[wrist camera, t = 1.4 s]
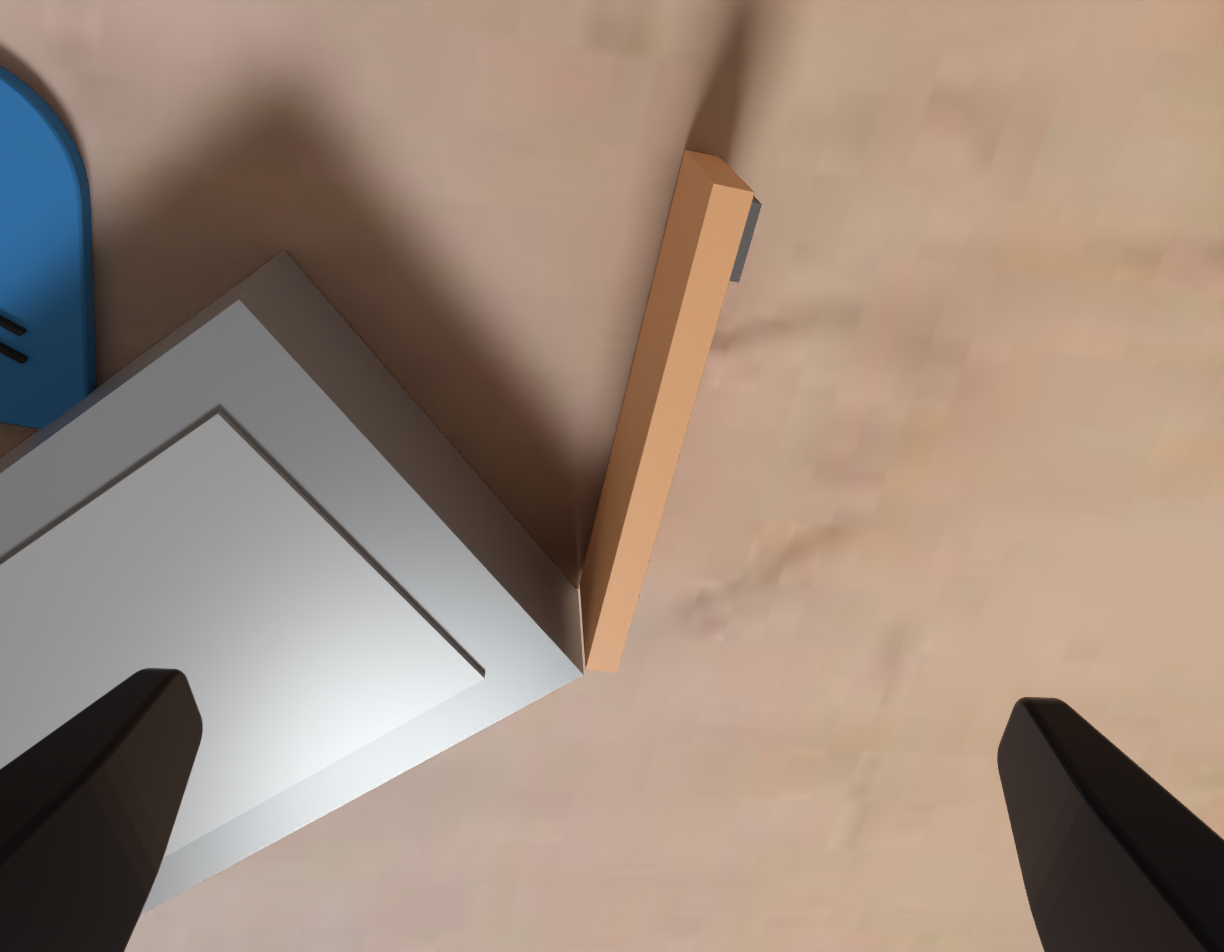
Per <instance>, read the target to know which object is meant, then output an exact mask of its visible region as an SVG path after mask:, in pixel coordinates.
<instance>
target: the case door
mask: <svg viewBox="0 0 1224 952" xmlns="http://www.w3.org/2000/svg"><path fill="white" fill-rule="evenodd" d="M761 205H762V204H761V203H760V202H759V201H758V200H757V199H756V198H755V197H754V191H753V190H752V189H751V188H750V187H749V186H748V185H747V184H746V183H745V182H744V181H743V180H742V179H741V178H740V177H739V176H738V175H737V174H736V173H735V172H734V171H733V170H732V169H731V168H730V167H729V166H728V165H727V164H726V163H725V162H724V161H723V160H722V159H721V158H720V157H717V156H713V155H708V154H703V153H699V152H694V151H690V150H685V152H684V156H683V160H682V164H681V168H680V172H679V176H678V180H677V184H676V189H675V193H674V197H673V201H672V205H671V209H670V213H669V217H668V221H667V226H666V230H665V234H664V238H663V242H662V246H661V250H660V254H659V258H658V263H657V267H656V271H655V275H654V279H653V283H652V287H651V291H650V295H649V300H648V304H647V308H646V312H645V316H644V320H643V324H642V328H641V332H640V337H639V341H638V345H637V349H636V353H635V357H634V361H633V365H632V369H631V374H630V378H629V382H628V386H627V390H626V394H625V398H624V402H623V406H622V411H621V415H620V419H619V423H618V427H617V431H616V435H615V439H614V443H613V448H612V452H611V456H610V460H609V464H608V468H607V472H606V476H605V480H604V485H603V489H602V493H601V497H600V501H599V505H598V509H597V513H596V517H595V521H594V526H593V530H592V534H591V538H590V542H589V546H588V550H587V554H586V558H585V563H584V567H583V571H582V575H581V579H580V595H581V609H582V623H583V637H584V651H585V666H586V669H587V670H596V671H605V672H614V673H617V671H618V667H619V664H620V660H621V657H622V653H623V650H624V646H625V643H626V639H627V636H628V632H629V629H630V625H631V622H632V618H633V615H634V611H635V608H636V604H637V601H638V597H639V594H640V590H641V587H642V583H643V580H644V576H645V573H646V569H647V566H648V562H649V559H650V556H651V552H652V549H653V545H654V542H655V538H656V535H657V531H658V528H659V524H660V521H661V517H662V514H663V510H664V507H665V503H666V500H667V496H668V493H669V489H670V486H671V482H672V479H673V475H674V472H675V468H676V465H677V461H678V458H679V454H680V451H681V447H682V444H683V440H684V437H685V433H686V430H687V426H688V423H689V419H690V416H691V412H692V409H693V405H694V402H695V398H696V395H697V391H698V388H699V384H700V381H701V377H702V374H703V370H704V367H705V364H706V360H707V357H708V353H709V350H710V346H711V343H712V339H713V336H714V332H715V329H716V325H717V322H718V318H719V315H720V311H721V308H722V304H723V301H724V297H725V294H726V290H727V287H728V283H729V281H734V282H739V280H740V277H741V273H742V270H743V267H744V263H745V260H746V256H747V253H748V249H749V246H750V243H751V239H752V236H753V232H754V229H755V225H756V222H757V219H758V215H759V212H760V208H761Z"/></svg>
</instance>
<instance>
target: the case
mask: <svg viewBox="0 0 1224 952" xmlns="http://www.w3.org/2000/svg"><path fill="white" fill-rule="evenodd" d="M145 668H167V669H178V670H181V671H182V672H183V673H184V674H185V675H186V677H187V679H188V682H189V685H190V687H191V690H192V693H193V695H194V698H195V701H196V704H197V706H198V709H199V712H200V714H201V717H202V723H203V733H202V739H201V743H200V746H199V749H198V752H197V755H196V759H195V762H194V765H193V768H192V771H191V774H190V777H189V780H188V783H187V786H186V790H185V793H184V796H183V799H182V802H181V805H180V808H179V811H178V814H177V818H176V821H175V824H174V827H173V830H172V833H171V836H170V839H169V842H168V846H167V849H166V852H165V855H164V857H163V860H162V863H161V866H160V869H159V872H158V874H157V877H156V879H155V882H154V884H153V886H152V889H151V891H150V894H149V896H148V898H147V901H146V903H145V905H144V907H143V910H142V912H141V914H143V913H145V912H147V911H149V910H150V909H152V908H154V907H156V906H158V905H160V904H162V903H163V902H165V901H167V900H169V899H171V898H173V897H174V896H176V895H178V894H180V893H182V892H184V891H185V890H187V889H189V888H191V887H193V886H195V885H197V884H198V883H200V882H202V881H204V880H206V879H208V878H209V877H211V876H213V875H215V874H217V873H219V872H221V871H222V870H224V869H226V868H228V867H230V866H232V865H233V864H235V863H237V862H239V861H241V860H243V859H245V858H246V857H248V856H250V855H252V854H254V853H256V852H257V851H259V850H261V849H263V848H265V847H267V846H269V845H270V844H272V843H274V842H276V841H278V840H280V839H281V838H283V837H285V836H287V835H289V834H291V833H292V832H294V831H296V830H298V829H300V828H302V827H304V826H305V825H307V824H309V823H311V822H313V821H315V820H316V819H318V818H320V817H322V816H324V815H326V814H328V813H329V812H331V811H333V810H335V809H337V808H339V807H340V806H342V805H344V804H346V803H348V802H350V801H352V800H353V799H355V798H357V797H359V796H361V795H363V794H364V793H366V792H368V791H370V790H372V789H374V788H376V787H377V786H379V785H381V784H383V783H385V782H387V781H388V780H390V779H392V778H394V777H396V776H398V775H399V774H401V773H403V772H405V771H407V770H409V769H411V768H412V767H414V766H416V765H418V764H420V763H422V762H423V761H425V760H427V759H429V758H431V757H433V756H435V755H436V754H438V753H440V752H442V751H444V750H446V749H447V748H449V747H451V746H453V745H455V744H457V743H459V742H460V741H462V740H464V739H466V738H468V737H470V736H471V735H473V734H475V733H477V732H479V731H481V730H483V729H484V728H486V727H488V726H490V725H492V724H494V723H495V722H497V721H499V720H501V719H503V718H505V717H506V716H508V715H510V714H512V713H514V712H516V711H518V710H519V709H521V708H523V707H525V706H527V705H529V704H530V703H532V702H534V701H536V700H538V699H540V698H542V697H543V696H545V695H547V694H549V693H551V692H553V691H554V690H556V689H558V688H560V687H562V686H564V685H566V684H567V683H569V682H571V681H573V680H575V679H577V678H578V677H580V676H582V675H583V660H582V645H581V630H580V615H579V600H578V591H577V589H576V588H575V587H574V586H573V585H572V584H571V582H570V581H569V580H568V579H567V578H566V577H565V575H564V574H563V573H562V572H561V571H560V570H559V568H558V567H557V566H556V565H555V564H554V563H553V561H552V560H551V559H550V558H549V557H548V556H547V554H546V553H545V552H544V551H543V550H542V549H541V548H540V546H539V545H538V544H537V543H536V542H535V541H534V539H533V538H532V537H531V536H530V535H529V534H528V532H527V531H526V530H525V529H524V528H523V527H522V525H521V524H520V523H519V522H518V521H517V520H516V518H515V517H514V516H513V515H512V514H511V513H510V511H509V510H508V509H507V508H506V507H505V506H504V505H503V503H502V502H501V501H500V500H499V499H498V498H497V496H496V495H495V494H494V493H493V492H492V491H491V489H490V488H489V487H488V486H487V485H486V484H485V482H484V481H483V480H482V479H481V478H480V477H479V475H478V474H477V473H476V472H475V471H474V470H473V468H472V467H471V466H470V465H469V464H468V463H467V462H466V460H465V459H464V458H463V457H462V456H461V455H460V453H459V452H458V451H457V450H456V449H455V448H454V446H453V445H452V444H451V443H450V442H449V441H448V439H447V438H446V437H445V436H444V435H443V434H442V432H441V431H440V430H439V429H438V428H437V427H436V425H435V424H434V423H433V422H432V421H431V420H430V418H429V417H428V416H427V415H426V414H425V413H424V412H423V410H422V409H421V408H420V407H419V406H418V405H417V403H416V402H415V401H414V400H413V399H412V398H411V396H410V395H409V394H408V393H407V392H406V391H405V389H404V388H403V387H402V386H401V385H400V384H399V382H398V381H397V380H396V379H395V378H394V377H393V375H392V374H391V373H390V372H389V371H388V370H387V369H386V367H385V366H384V365H383V364H382V363H381V362H380V360H379V359H378V358H377V357H376V356H375V355H374V353H373V352H372V351H371V350H370V349H369V348H368V346H367V345H366V344H365V343H364V342H363V341H362V339H361V338H360V337H359V336H358V335H357V334H356V332H355V331H354V330H353V329H352V328H351V327H350V326H349V324H348V323H347V322H346V321H345V320H344V319H343V317H342V316H341V315H340V314H339V313H338V312H337V310H336V309H335V308H334V307H333V306H332V305H331V303H330V302H329V301H328V300H327V299H326V298H325V296H324V295H323V294H322V293H321V292H320V291H319V289H318V288H317V287H316V286H315V285H314V284H313V283H312V281H311V280H310V279H309V278H308V277H307V276H306V274H305V273H304V272H303V271H302V270H301V269H300V267H299V266H298V265H297V264H296V263H295V262H294V260H293V259H292V258H291V257H290V256H289V255H288V253H287V252H286V251H285V250H283V251H282V252H281V253H279V254H278V255H277V256H275V257H274V258H272V259H271V260H270V261H268V262H267V263H266V264H264V265H263V266H262V267H260V268H259V269H257V270H256V271H255V272H253V273H252V274H251V275H249V276H248V277H247V278H245V279H244V280H242V281H241V282H240V283H238V284H237V285H236V286H234V287H233V288H232V289H230V290H229V291H227V292H226V293H225V294H223V295H222V296H221V297H219V298H218V299H217V300H215V301H214V302H213V303H211V304H210V305H208V306H207V307H206V308H204V309H203V310H202V311H200V312H199V313H198V314H196V315H195V316H193V317H192V318H191V319H189V320H188V321H187V322H185V323H184V324H183V325H181V326H180V327H178V328H177V329H176V330H174V331H173V332H172V333H170V334H169V335H168V336H166V337H165V338H163V339H162V340H161V341H159V342H158V343H157V344H155V345H154V346H153V347H151V348H150V349H149V350H147V351H146V352H144V353H143V354H142V355H140V356H139V357H138V358H136V359H135V360H134V361H132V362H131V363H129V364H128V365H127V366H125V367H124V368H123V369H121V370H120V371H119V372H117V373H116V374H114V375H113V376H112V377H110V378H109V379H108V380H106V381H105V382H104V383H102V384H101V385H100V386H98V387H97V388H95V389H94V390H93V391H92V392H91V393H90V394H89V395H88V396H87V397H85V398H84V399H83V400H81V401H80V402H79V403H77V404H76V405H75V406H73V407H72V408H70V409H69V410H68V411H66V412H65V413H64V414H62V415H61V416H60V417H58V418H57V419H55V420H54V421H53V422H51V423H50V424H49V425H47V426H46V427H45V428H43V429H42V430H41V429H40V430H38V431H37V432H36V433H34V434H33V435H31V436H30V437H29V438H27V439H26V440H25V441H23V442H22V443H21V444H19V445H18V446H16V447H15V448H14V449H12V450H11V451H10V452H8V453H7V454H6V455H4V456H3V457H1V458H0V769H1V768H3V767H4V766H5V765H7V764H8V763H10V762H11V761H12V760H14V759H15V758H17V757H18V756H19V755H21V754H22V753H24V752H25V751H26V750H28V749H29V748H31V747H32V746H33V745H35V744H36V743H38V742H39V741H40V740H42V739H43V738H45V737H46V736H47V735H49V734H50V733H52V732H53V731H54V730H56V729H57V728H59V727H60V726H61V725H63V724H64V723H66V722H67V721H68V720H70V719H71V718H73V717H74V716H75V715H77V714H78V713H79V712H81V711H82V710H84V709H85V708H86V707H88V706H89V705H91V704H92V703H93V702H95V701H96V700H98V699H99V698H100V697H102V696H103V695H105V694H106V693H107V692H109V691H110V690H112V689H113V688H114V687H116V686H117V685H119V684H120V683H121V682H123V681H124V680H126V679H127V678H128V677H130V676H131V675H133V674H134V673H136V672H137V671H139V670H142V669H145ZM141 914H140V915H141Z"/></svg>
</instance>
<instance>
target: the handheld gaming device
mask: <svg viewBox="0 0 1224 952" xmlns="http://www.w3.org/2000/svg"><path fill="white" fill-rule="evenodd" d="M95 388H96V363H95V332H94V301H93V270H92V239H91V208H90V193H89V184H88V179H87V175H86V172H85V168H84V164H83V161H82V159H81V157H80V154H79V152H78V150H77V147H76V145H75V143H74V141H73V139H72V138H71V136H70V134H69V133H68V131H67V129H66V128H65V126H64V125H63V123H62V122H61V121H60V119H59V118H58V117H57V115H56V114H55V113H54V111H53V110H52V109H51V108H50V107H49V105H48V104H47V103H46V102H45V101H44V100H43V99H42V98H41V97H40V96H39V95H38V94H37V93H36V92H35V91H34V90H33V89H31V88H30V87H29V86H28V85H27V84H25V83H24V82H23V81H22V80H20V79H19V78H18V77H17V76H15V75H14V74H12V73H11V72H9V71H7V70H6V69H4V68H3V67H1V66H0V422H1V423H7V424H13V425H18V426H24V427H30V428H36V429H41V430H42V429H43V428H45V427H46V426H47V425H49V424H50V423H51V422H53V421H54V420H55V419H57V418H58V417H60V416H61V415H62V414H64V413H65V412H66V411H68V410H69V409H70V408H72V407H73V406H75V405H76V404H77V403H79V402H80V401H81V400H83V399H84V398H85V397H87V396H88V395H89V394H90V393H91V392H92V391H93V390H94V389H95Z"/></svg>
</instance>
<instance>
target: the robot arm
mask: <svg viewBox="0 0 1224 952" xmlns="http://www.w3.org/2000/svg"><path fill="white" fill-rule="evenodd" d="M202 733H203V723H202V717H201V714H200V712H199V709H198V706H197V704H196V701H195V698H194V695H193V693H192V690H191V687H190V685H189V682H188V679H187V677H186V675H185V674H184V673H183V672H182V671H181V670H178V669H167V668H145V669H142V670H139V671H137V672H136V673H134V674H133V675H131V676H130V677H128V678H127V679H126V680H124V681H123V682H121V683H120V684H119V685H117V686H116V687H114V688H113V689H112V690H110V691H109V692H107V693H106V694H105V695H103V696H102V697H100V698H99V699H98V700H96V701H95V702H93V703H92V704H91V705H89V706H88V707H86V708H85V709H84V710H82V711H81V712H79V713H78V714H77V715H75V716H74V717H73V718H71V719H70V720H68V721H67V722H66V723H64V724H63V725H61V726H60V727H59V728H57V729H56V730H54V731H53V732H52V733H50V734H49V735H47V736H46V737H45V738H43V739H42V740H40V741H39V742H38V743H36V744H35V745H33V746H32V747H31V748H29V749H28V750H26V751H25V752H24V753H22V754H21V755H19V756H18V757H17V758H15V759H14V760H12V761H11V762H10V763H8V764H7V765H5V766H4V767H3V768H1V769H0V952H124V950H125V948H126V946H127V944H128V941H129V939H130V937H131V935H132V932H133V930H134V928H135V926H136V923H137V921H138V919H139V916H140V914H141V912H142V910H143V907H144V905H145V903H146V901H147V898H148V896H149V894H150V891H151V889H152V886H153V884H154V882H155V879H156V877H157V874H158V872H159V869H160V866H161V863H162V860H163V857H164V855H165V852H166V849H167V846H168V842H169V839H170V836H171V833H172V830H173V827H174V824H175V821H176V818H177V814H178V811H179V808H180V805H181V802H182V799H183V796H184V793H185V790H186V786H187V783H188V780H189V777H190V774H191V771H192V768H193V765H194V762H195V759H196V755H197V752H198V749H199V746H200V743H201V739H202ZM997 762H998V770H999V774H1000V779H1001V783H1002V788H1003V792H1004V797H1005V801H1006V805H1007V810H1008V814H1009V819H1010V823H1011V828H1012V832H1013V836H1014V841H1015V845H1016V850H1017V854H1018V859H1019V863H1020V867H1021V872H1022V876H1023V881H1024V885H1025V889H1026V893H1027V897H1028V901H1029V905H1030V909H1031V912H1032V915H1033V918H1034V922H1035V925H1036V928H1037V931H1038V934H1039V937H1040V940H1041V943H1042V946H1043V949H1044V952H1224V839H1222V838H1221V837H1220V836H1219V835H1218V834H1217V833H1215V832H1214V831H1213V830H1212V829H1211V828H1210V827H1209V826H1207V825H1206V824H1205V823H1204V822H1203V821H1202V820H1200V819H1199V818H1198V817H1197V816H1196V815H1195V814H1194V813H1192V812H1191V811H1190V810H1189V809H1188V808H1187V807H1185V806H1184V805H1183V804H1182V803H1181V802H1180V801H1179V800H1177V799H1176V798H1175V797H1174V796H1173V795H1172V794H1170V793H1169V792H1168V791H1167V790H1166V789H1165V788H1164V787H1162V786H1161V785H1160V784H1159V783H1158V782H1157V781H1155V780H1154V779H1153V778H1152V777H1151V776H1150V775H1149V774H1147V773H1146V772H1145V771H1144V770H1143V769H1142V768H1140V767H1139V766H1138V765H1137V764H1136V763H1135V762H1134V761H1132V760H1131V759H1130V758H1129V757H1128V756H1127V755H1125V754H1124V753H1123V752H1122V751H1121V750H1120V749H1119V748H1117V747H1116V746H1115V745H1114V744H1113V743H1112V742H1110V741H1109V740H1108V739H1107V738H1106V737H1105V736H1104V735H1102V734H1101V733H1100V732H1099V731H1098V730H1097V729H1095V728H1094V727H1093V726H1092V725H1091V724H1090V723H1089V722H1087V721H1086V720H1085V719H1084V718H1083V717H1082V716H1080V715H1079V714H1078V713H1077V712H1076V711H1075V710H1074V709H1072V708H1071V707H1070V706H1069V705H1068V704H1066V703H1065V702H1063V701H1061V700H1060V699H1056V698H1040V697H1024V698H1021V699H1019V700H1018V701H1017V702H1016V704H1015V706H1014V708H1013V710H1012V713H1011V715H1010V718H1009V721H1008V723H1007V726H1006V728H1005V731H1004V734H1003V736H1002V739H1001V741H1000V744H999V748H998V754H997Z"/></svg>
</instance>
